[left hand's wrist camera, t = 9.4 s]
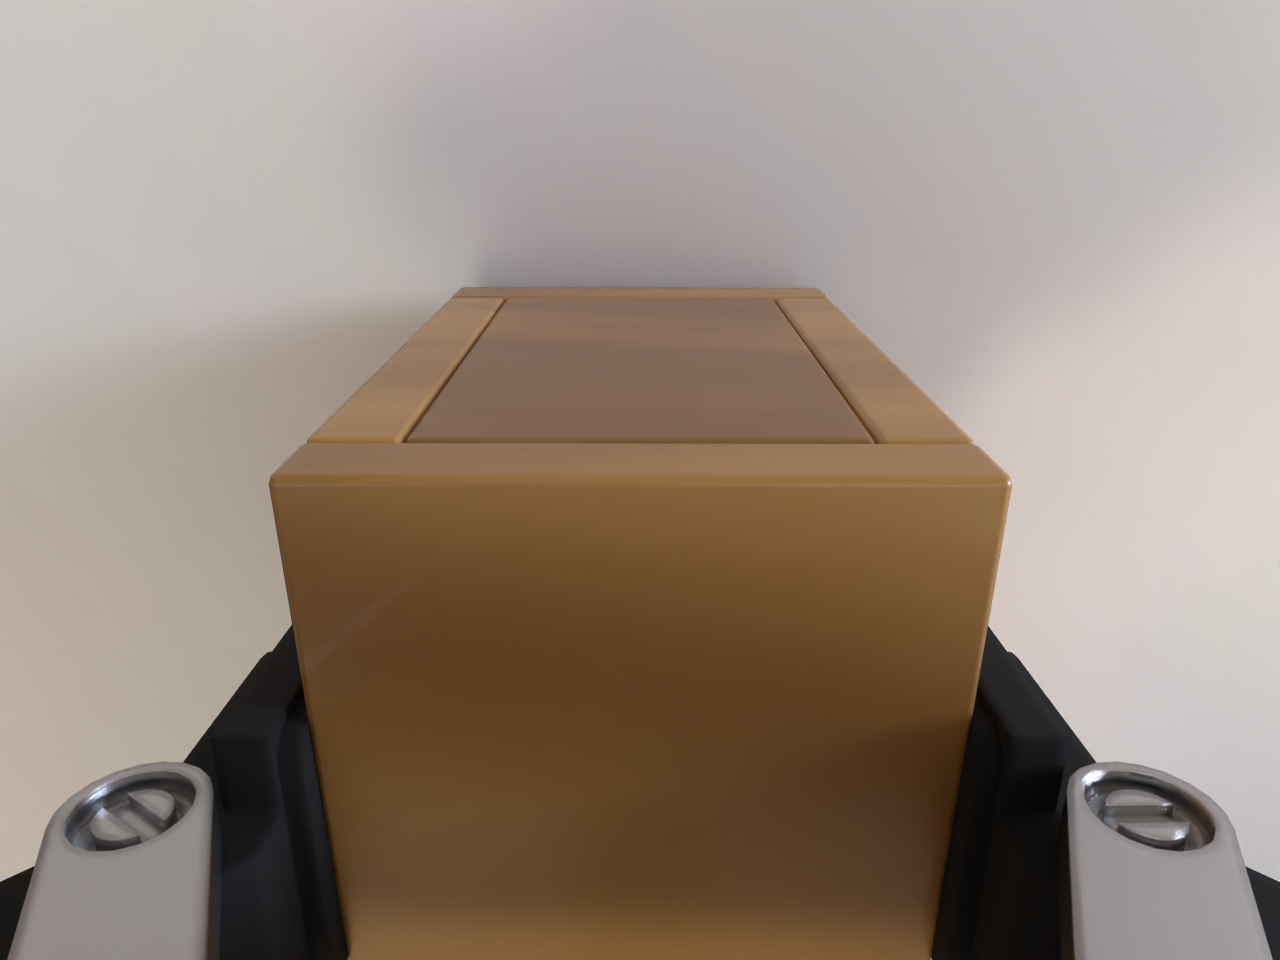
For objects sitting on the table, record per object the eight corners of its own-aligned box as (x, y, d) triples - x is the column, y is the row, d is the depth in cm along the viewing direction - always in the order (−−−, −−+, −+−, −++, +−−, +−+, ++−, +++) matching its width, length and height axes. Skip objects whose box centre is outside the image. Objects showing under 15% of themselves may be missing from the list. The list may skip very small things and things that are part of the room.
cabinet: (758, 1087, 23) (821, 1607, 15) (518, 1086, 23) (454, 1607, 15) (819, 287, 15) (1019, 477, 7) (460, 286, 15) (263, 477, 7)
